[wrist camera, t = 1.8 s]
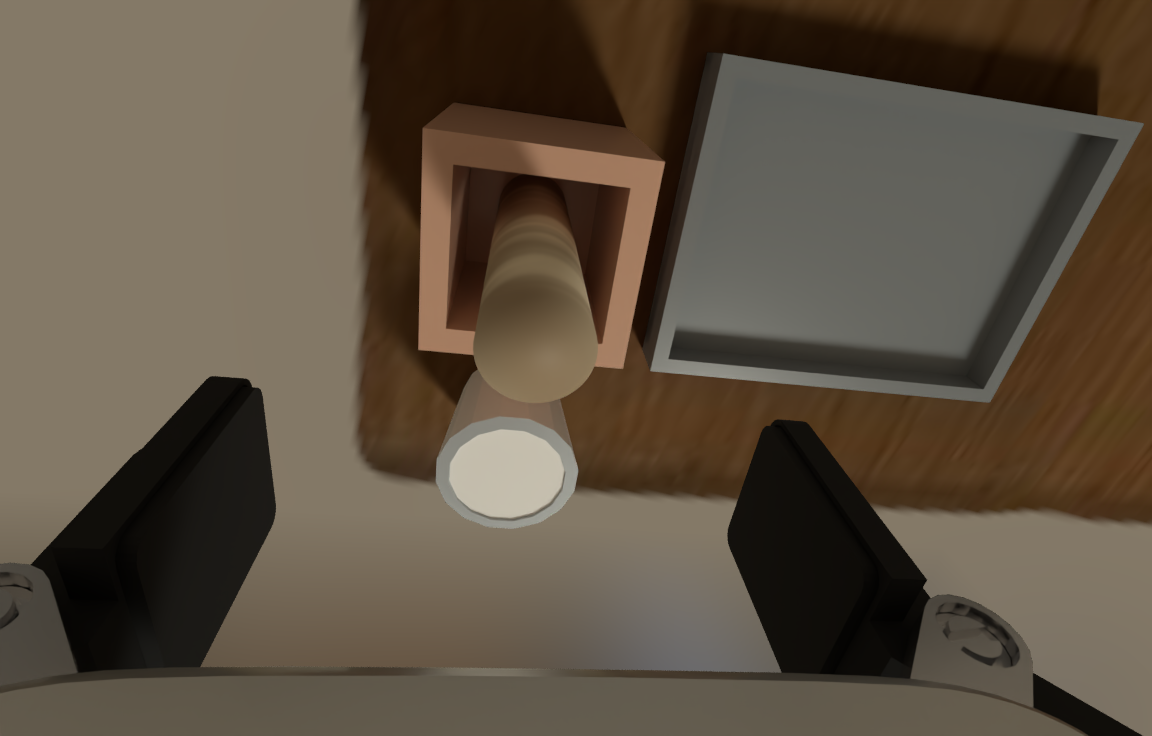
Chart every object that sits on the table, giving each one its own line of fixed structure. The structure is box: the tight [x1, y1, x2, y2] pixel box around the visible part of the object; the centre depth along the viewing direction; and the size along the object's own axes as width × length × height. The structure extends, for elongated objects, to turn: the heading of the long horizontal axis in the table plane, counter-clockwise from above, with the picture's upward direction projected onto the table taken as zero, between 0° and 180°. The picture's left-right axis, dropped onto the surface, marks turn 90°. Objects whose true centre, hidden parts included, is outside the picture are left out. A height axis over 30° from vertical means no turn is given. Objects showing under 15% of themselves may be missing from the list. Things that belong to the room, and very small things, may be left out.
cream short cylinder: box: [436, 370, 578, 529], centre depth 32 cm, size 7×7×7 cm
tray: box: [642, 52, 1144, 403], centre depth 30 cm, size 20×15×2 cm
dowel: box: [473, 174, 598, 403], centre depth 22 cm, size 3×3×15 cm
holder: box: [418, 103, 665, 369], centre depth 25 cm, size 8×8×9 cm
